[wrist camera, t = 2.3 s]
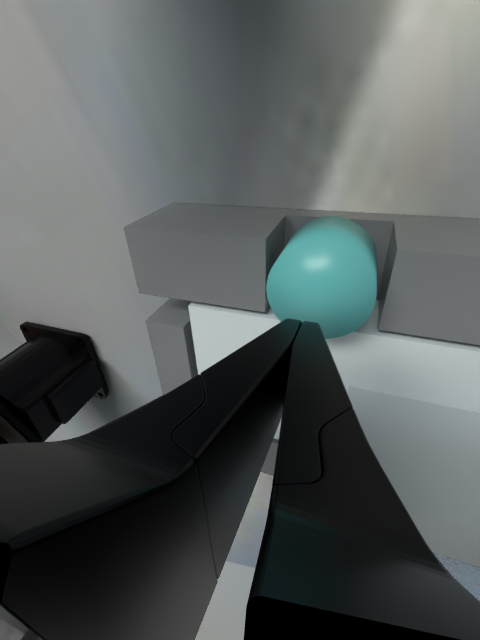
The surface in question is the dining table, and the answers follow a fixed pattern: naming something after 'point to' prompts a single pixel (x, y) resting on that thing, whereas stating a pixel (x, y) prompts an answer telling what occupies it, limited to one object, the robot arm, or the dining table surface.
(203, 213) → the filter housing
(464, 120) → the dining table surface
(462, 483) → the white stepped block
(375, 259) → the teal egg-shaped capsule
